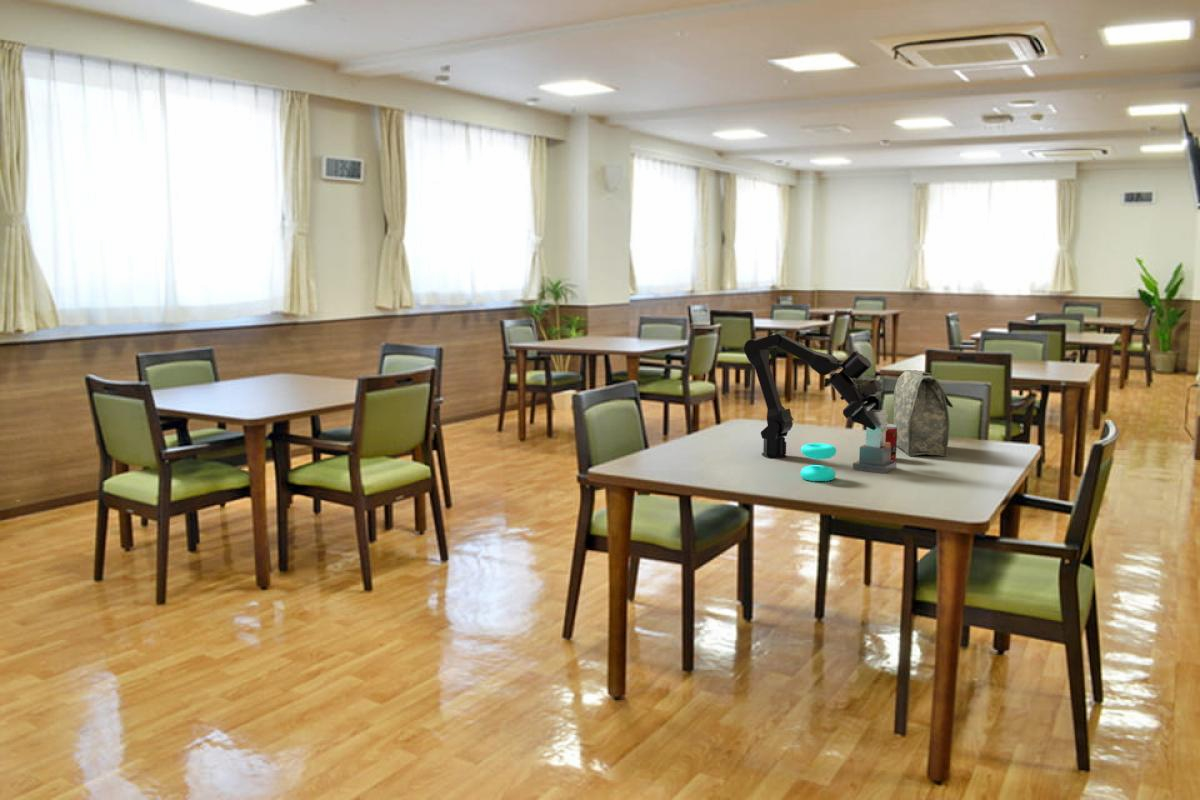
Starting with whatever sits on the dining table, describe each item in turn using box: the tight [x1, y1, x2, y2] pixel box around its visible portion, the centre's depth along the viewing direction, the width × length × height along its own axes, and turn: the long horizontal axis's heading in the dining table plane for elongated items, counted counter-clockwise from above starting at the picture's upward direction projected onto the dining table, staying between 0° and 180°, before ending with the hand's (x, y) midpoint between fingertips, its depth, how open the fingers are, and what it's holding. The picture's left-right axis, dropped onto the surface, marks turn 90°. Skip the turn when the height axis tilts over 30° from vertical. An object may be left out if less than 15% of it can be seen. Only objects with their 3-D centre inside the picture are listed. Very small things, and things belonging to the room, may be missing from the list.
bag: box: [893, 369, 954, 457], centre depth 326 cm, size 22×16×27 cm
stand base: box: [852, 442, 898, 474], centre depth 297 cm, size 10×10×8 cm
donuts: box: [800, 442, 837, 482], centre depth 283 cm, size 10×10×10 cm
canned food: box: [885, 423, 898, 461], centre depth 313 cm, size 8×8×11 cm
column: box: [865, 409, 889, 448], centre depth 296 cm, size 5×4×12 cm
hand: (880, 427), depth 295 cm, fingers open, 9 cm apart
